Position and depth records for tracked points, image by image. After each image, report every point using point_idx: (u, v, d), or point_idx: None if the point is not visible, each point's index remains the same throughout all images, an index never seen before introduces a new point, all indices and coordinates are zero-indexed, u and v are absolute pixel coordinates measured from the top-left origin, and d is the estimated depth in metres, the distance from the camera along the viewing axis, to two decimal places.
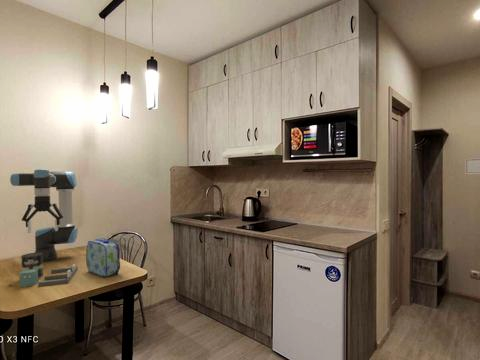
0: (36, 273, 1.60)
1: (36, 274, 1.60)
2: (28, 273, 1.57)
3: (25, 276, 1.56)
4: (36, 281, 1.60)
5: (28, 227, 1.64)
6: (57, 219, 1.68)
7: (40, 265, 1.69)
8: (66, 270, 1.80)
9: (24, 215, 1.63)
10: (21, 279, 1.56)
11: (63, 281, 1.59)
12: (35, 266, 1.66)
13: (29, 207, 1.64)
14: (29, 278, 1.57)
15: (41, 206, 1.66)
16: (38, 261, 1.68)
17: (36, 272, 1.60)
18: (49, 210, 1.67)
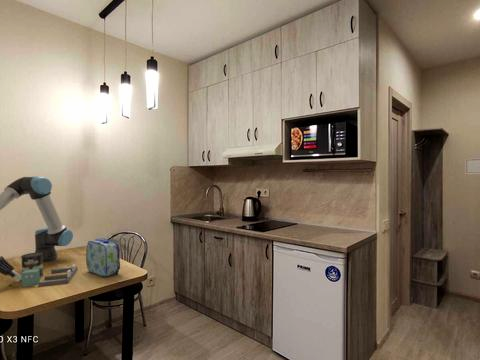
0: (38, 273, 1.60)
1: (38, 274, 1.60)
2: (30, 273, 1.57)
3: (27, 276, 1.56)
4: (38, 281, 1.60)
5: None
6: (5, 275, 1.54)
7: (40, 265, 1.69)
8: (66, 270, 1.80)
9: None
10: (23, 279, 1.56)
11: (63, 281, 1.59)
12: (35, 266, 1.66)
13: None
14: (31, 278, 1.57)
15: None
16: (38, 261, 1.68)
17: (38, 272, 1.61)
18: None
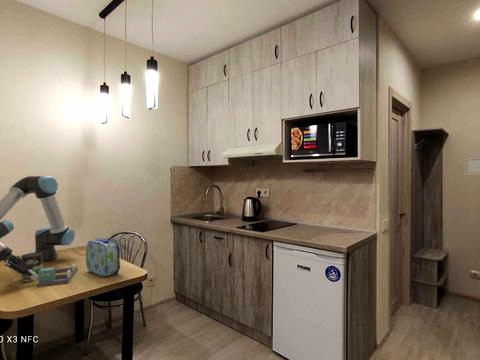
0: (54, 271, 1.63)
1: (54, 272, 1.63)
2: (46, 271, 1.59)
3: (43, 274, 1.59)
4: (54, 279, 1.63)
5: (30, 276, 1.59)
6: (22, 274, 1.57)
7: (40, 265, 1.69)
8: (66, 270, 1.80)
9: None
10: (39, 277, 1.58)
11: (63, 281, 1.59)
12: (35, 266, 1.66)
13: None
14: (47, 276, 1.59)
15: None
16: (38, 261, 1.68)
17: (54, 270, 1.63)
18: None
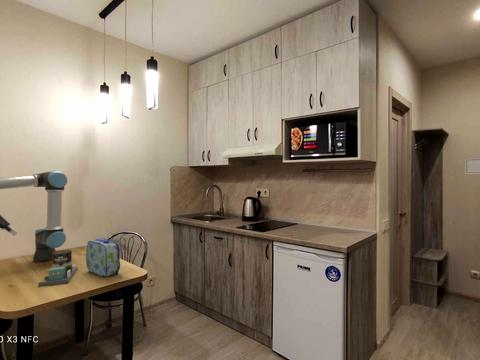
0: (64, 270, 1.65)
1: (64, 271, 1.65)
2: (57, 270, 1.61)
3: (54, 273, 1.61)
4: (64, 278, 1.65)
5: None
6: (2, 229, 1.69)
7: (69, 262, 1.74)
8: None
9: None
10: (50, 276, 1.60)
11: (63, 281, 1.59)
12: (65, 263, 1.71)
13: None
14: (58, 275, 1.61)
15: None
16: (67, 258, 1.73)
17: (64, 269, 1.65)
18: None
